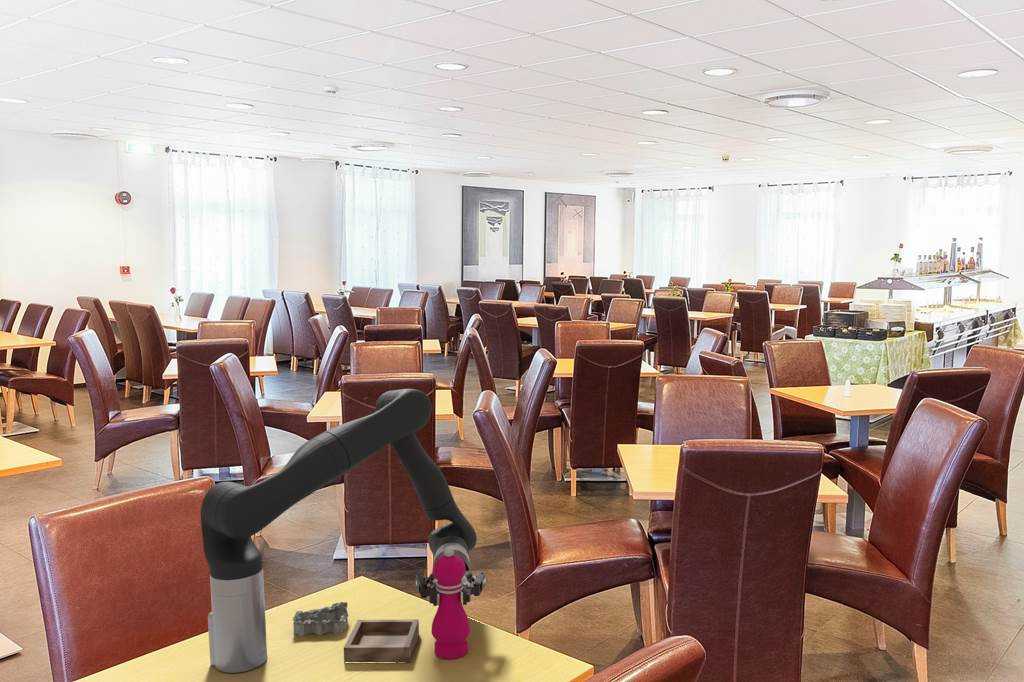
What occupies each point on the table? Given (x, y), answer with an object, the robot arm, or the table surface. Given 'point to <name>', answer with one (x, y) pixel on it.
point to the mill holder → (382, 641)
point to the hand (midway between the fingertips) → (450, 600)
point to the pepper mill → (450, 608)
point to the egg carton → (328, 615)
